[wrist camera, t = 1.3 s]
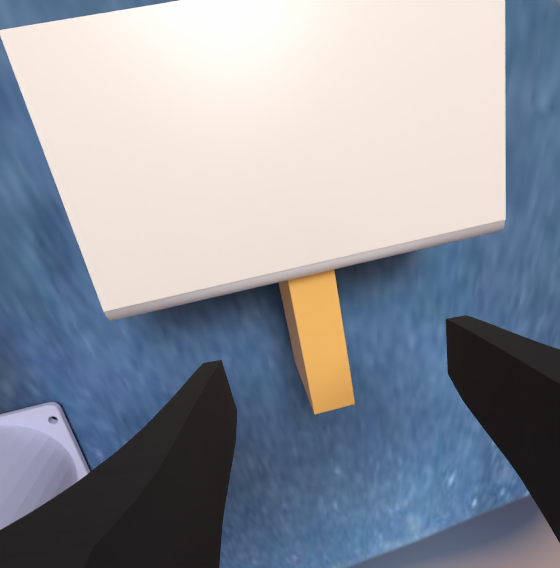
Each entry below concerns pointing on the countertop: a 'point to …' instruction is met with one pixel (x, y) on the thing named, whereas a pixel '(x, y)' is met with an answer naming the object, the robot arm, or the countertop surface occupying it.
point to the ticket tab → (318, 339)
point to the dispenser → (265, 137)
